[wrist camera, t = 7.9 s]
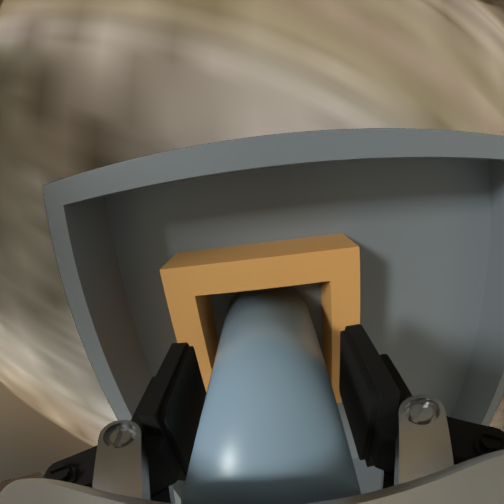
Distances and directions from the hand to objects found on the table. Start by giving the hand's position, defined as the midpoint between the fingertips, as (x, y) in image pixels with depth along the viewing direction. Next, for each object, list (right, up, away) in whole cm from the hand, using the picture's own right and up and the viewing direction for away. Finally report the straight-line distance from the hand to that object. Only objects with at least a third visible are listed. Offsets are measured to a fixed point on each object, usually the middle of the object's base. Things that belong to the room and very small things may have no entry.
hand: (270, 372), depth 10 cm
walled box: (+4, -1, +6) cm, 7 cm away
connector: (0, +1, +4) cm, 4 cm away
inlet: (0, +1, +5) cm, 5 cm away
